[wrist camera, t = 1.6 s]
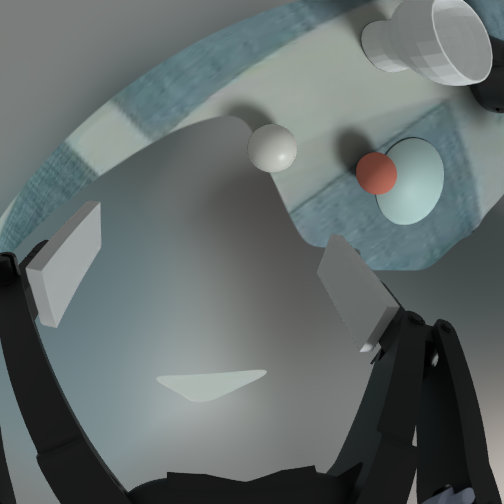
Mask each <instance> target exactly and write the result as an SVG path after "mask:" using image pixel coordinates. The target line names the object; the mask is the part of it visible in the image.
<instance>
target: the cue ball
mask: <svg viewBox="0 0 504 504" xmlns="http://www.w3.org/2000/svg"><path fill="white" fill-rule="evenodd" d="M247 149H248V155H249V158H250V159H251V161H252V163H253V164H254V165H255V166H256V167H258V168H259V169H261V170H263V171H266V172H280V171H283V170H285V169H286V168H288V167H289V166H290V165H291V164H292V163H293V161H294V160H295V158H296V155H297V142H296V140H295V138H294V136H293V134H292V133H291V132H290V131H289V130H288V129H286V128H285V127H283V126H280V125H276V124H268V125H264V126H261V127H259V128H258V129H256V130H255V131H254V132H253V134H252V135H251V136H250V139H249V141H248V147H247Z"/></svg>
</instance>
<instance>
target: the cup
mask: <svg viewBox="0 0 504 504" xmlns="http://www.w3.org/2000/svg"><path fill="white" fill-rule="evenodd" d="M361 40H362V47H363V49H364V52H365V54H366V56H367V57H368V59H369V60H370V61H371V62H372V63H373V64H374V65H375V66H376V67H378V68H379V69H381V70H383V71H386V72H398V71H402V70H405V69H408V68H409V69H412V70H414V71H415V72H417V73H418V74H420V75H422V76H423V77H426V78H428V79H430V80H432V81H434V82H437V83H441V84H444V85H453V86H464V85H469V84H475V83H480V82H481V81H483V80H485V79H486V78H487V76H488V75H489V73H490V70H491V67H492V48H491V44H490V40H489V36H488V34H487V31H486V29H485V27H484V25H483V23H482V21H481V20H480V18H479V17H478V15H477V14H476V13H475V11H474V10H473V9H472V8H471V7H470V6H469V5H468V4H467V3H466V2H465V1H463V0H405V1H403V2H402V3H401V4H400V5H399V7H398V8H397V9H396V10H395V12H394V14H393V15H392V18H391V19H390V20H384V21H375V22H372V23H369V24H368V25H367V26H366V27H365V28H364V30H363V32H362V37H361Z"/></svg>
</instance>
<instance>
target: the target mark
mask: <svg viewBox="0 0 504 504" xmlns="http://www.w3.org/2000/svg"><path fill="white" fill-rule="evenodd" d="M386 156H388V157H389V158H390V159H391V160H392V161H393V163H394V164H395V167H396V170H397V180H396V183H395V185H394V186H393V188H392V189H391V190H390V191H388V192H387V193H384V194H380V195H376V199H377V202H378V205H379V208H380V210H381V211H382V213H383V214H384V215H385V217H386V218H388V219H389V220H390V221H392V222H393V223H396V224H400V225H409V224H413V223H416V222H418V221H420V220H421V219H423V218H424V217H425V216H427V215H428V214H429V213H430V211H431V210H432V209H433V208H434V206H435V205H436V203H437V201H438V199H439V197H440V194H441V191H442V187H443V182H444V169H443V164H442V160H441V158H440V155H439V154H438V152H437V150H436V149H435V148H434V147H433V146H432V145H431V144H430V143H428V142H427V141H425V140H422V139H418V138H410V139H406V140H403V141H401V142H399V143H397V144H396V145H395V146H394V147H392V148H391V149H390V150H389V152H388V153H387V154H386Z"/></svg>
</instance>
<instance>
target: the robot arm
mask: <svg viewBox="0 0 504 504" xmlns="http://www.w3.org/2000/svg"><path fill="white" fill-rule="evenodd" d="M488 36H489V40H490V44H491V48H492V67H491V70H490V73H489V75H488V76H487V78H486V79H485V80H483V81H481V82H480V83H475V84H469V86H470V88H471V91H472V93H473V95H474V96H475V98H476V100H477V101H478V102H479V104H480V105H481V106H482V107H483V108H485V109H486V110H488V111H491V112H495V113H504V41H503V40H500V39H498V38H496V37H493V36H490V35H488ZM100 248H101V227H100V202H95V201H87V202H86V203H85V204H84V205H83V206H82V207H81V208H80V209H79V210H78V211H77V212H76V213H75V214H74V215H73V216H72V217H71V218H70V219H69V220H68V221H67V222H66V223H65V224H64V225H63V226H62V227H61V228H60V229H59V230H58V231H57V233H55V235H54V236H53V237H52V238H51V239H50V240H44V241H42V242H40V243H39V244H37V245H36V246H35V247H34V248H33V249H32V251H31V252H30V253H29V254H28V255H27V257H25V259H24V260H23V261H22V262H21V263H20V264H19V265H18V262H17V258H16V256H15V254H13V253H12V252H3V253H0V339H1V344H2V349H3V354H4V358H5V362H6V366H7V370H8V374H9V377H10V381H11V384H12V387H13V391H14V394H15V397H16V400H17V403H18V405H19V408H20V411H21V414H22V416H23V419H24V422H25V424H26V427H27V429H28V431H29V434H30V436H31V438H32V440H33V443H34V445H35V447H36V449H37V453H38V455H37V457H36V458H37V462H38V464H39V467H40V469H41V471H42V473H43V475H44V476H45V478H46V480H47V482H48V483H49V485H50V487H51V489H52V490H53V492H54V494H55V495H56V497H57V499H58V500H59V502H60V503H61V504H406V503H407V500H408V497H409V494H410V491H411V487H412V484H413V480H414V476H415V472H416V468H417V482H416V483H417V491H416V492H417V503H418V504H502V502H501V498H500V494H499V491H498V488H497V485H496V482H495V478H494V475H493V473H492V470H491V467H490V464H489V458H488V451H487V444H486V438H485V432H484V427H483V422H482V417H481V413H480V408H479V404H478V400H477V396H476V392H475V389H474V385H473V381H472V378H471V375H470V371H469V368H468V365H467V362H466V359H465V356H464V353H463V350H462V347H461V345H460V341H459V339H458V336H457V334H456V331H455V329H454V327H453V326H452V325H451V323H449V322H448V321H445V320H442V319H438V320H437V321H436V323H435V324H434V326H429V325H426V324H425V321H424V320H423V318H422V317H421V316H420V315H418V314H417V313H415V312H412V311H405V309H404V308H403V307H402V306H401V304H400V303H399V302H398V300H397V299H396V298H395V297H394V295H393V294H392V293H391V292H390V290H389V289H388V288H387V286H386V285H385V284H384V283H383V282H381V281H380V280H379V279H378V278H377V277H376V276H375V274H374V273H373V272H372V270H371V269H370V268H369V267H368V266H367V264H366V263H365V262H364V261H363V259H362V258H361V257H360V256H359V255H358V254H357V252H356V251H355V250H354V249H353V248H352V246H351V245H350V244H349V243H348V242H347V241H346V239H345V238H344V237H343V236H342V235H336V234H331V236H330V239H329V241H328V244H327V247H326V250H325V252H324V255H323V258H322V260H321V263H320V266H319V268H318V271H317V274H318V276H319V277H320V279H321V281H322V283H323V285H324V286H325V288H326V290H327V292H328V294H329V295H330V297H331V299H332V301H333V303H334V305H335V306H336V308H337V310H338V312H339V314H340V316H341V318H342V319H343V321H344V323H345V325H346V327H347V329H348V331H349V333H350V335H351V336H352V338H353V340H354V342H355V344H356V346H357V348H358V350H359V352H366V351H372V350H373V349H374V347H375V346H376V344H377V343H378V342H379V344H380V345H381V349H380V350H379V352H378V353H377V355H376V356H375V357H374V359H373V360H372V362H371V364H373V363H374V362H375V363H374V367H373V370H372V373H371V376H370V379H369V382H368V385H367V387H366V390H365V393H364V396H363V398H362V401H361V404H360V406H359V409H358V412H357V414H356V417H355V419H354V422H353V424H352V426H351V429H350V431H349V434H348V436H347V438H346V440H345V442H344V445H343V447H342V449H341V451H340V453H339V455H338V457H337V460H336V461H335V463H334V464H333V466H332V467H331V468H330V469H329V470H328V472H327V473H326V474H324V473H319V472H316V469H315V466H314V465H313V466H308V467H301V468H295V469H288V470H281V471H279V472H276V473H273V474H270V475H267V476H264V477H261V478H258V479H255V480H252V481H248V482H242V481H236V480H230V479H225V478H220V477H216V476H211V475H207V474H190V473H174V472H167V478H163V479H158V480H153V481H150V482H147V483H144V484H142V485H139V486H137V487H135V488H134V489H132V490H131V491H129V492H127V490H126V489H125V488H124V487H123V485H122V484H121V483H120V482H119V481H118V479H117V478H116V477H115V475H114V474H113V473H112V472H111V470H110V469H109V468H108V466H107V465H106V464H105V462H104V461H103V459H102V458H101V456H100V455H99V454H98V452H97V451H96V449H95V448H94V446H93V444H92V443H91V442H90V440H89V438H88V437H87V435H86V433H85V432H84V430H83V428H82V426H81V425H80V423H79V421H78V420H77V418H76V416H75V414H74V412H73V411H72V409H71V407H70V405H69V403H68V401H67V399H66V397H65V395H64V393H63V391H62V389H61V387H60V385H59V382H58V380H57V378H56V376H55V373H54V371H53V369H52V367H51V364H50V362H49V359H48V357H47V354H46V352H45V349H44V347H43V344H42V341H41V338H40V335H39V332H38V330H37V326H36V324H35V321H34V320H35V319H36V317H37V315H39V318H40V321H41V323H42V325H46V326H51V327H54V328H57V326H58V324H59V322H60V320H61V318H62V316H63V314H64V312H65V310H66V308H67V306H68V304H69V302H70V300H71V298H72V296H73V295H74V293H75V291H76V289H77V287H78V285H79V284H80V282H81V280H82V278H83V277H84V275H85V273H86V271H87V270H88V268H89V266H90V264H91V263H92V261H93V260H94V258H95V256H96V255H97V253H98V251H99V250H100ZM437 359H438V362H437V364H436V366H434V363H435V361H436V360H437ZM415 426H416V432H417V447H415V446H413V445H412V441H413V436H414V431H415ZM0 504H16V499H15V496H14V491H13V487H12V483H11V480H10V476H9V472H8V467H7V463H6V458H5V453H4V448H3V441H2V435H1V428H0Z"/></svg>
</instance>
